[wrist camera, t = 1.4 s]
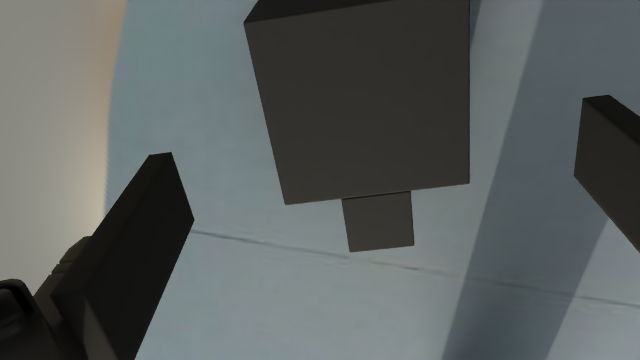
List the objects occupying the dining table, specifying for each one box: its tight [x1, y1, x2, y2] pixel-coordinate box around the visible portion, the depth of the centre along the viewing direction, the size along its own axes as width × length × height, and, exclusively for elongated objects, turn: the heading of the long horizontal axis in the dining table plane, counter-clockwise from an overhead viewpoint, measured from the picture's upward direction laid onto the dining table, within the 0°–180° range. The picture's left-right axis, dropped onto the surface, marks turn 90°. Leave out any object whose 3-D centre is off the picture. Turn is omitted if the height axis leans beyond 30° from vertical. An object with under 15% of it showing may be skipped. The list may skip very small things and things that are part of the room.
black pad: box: [244, 0, 470, 252], centre depth 22 cm, size 8×11×4 cm
